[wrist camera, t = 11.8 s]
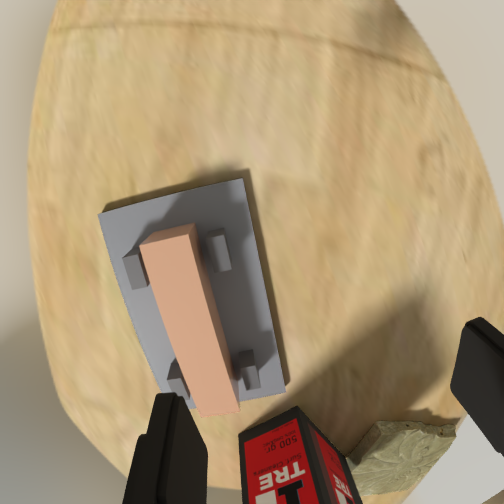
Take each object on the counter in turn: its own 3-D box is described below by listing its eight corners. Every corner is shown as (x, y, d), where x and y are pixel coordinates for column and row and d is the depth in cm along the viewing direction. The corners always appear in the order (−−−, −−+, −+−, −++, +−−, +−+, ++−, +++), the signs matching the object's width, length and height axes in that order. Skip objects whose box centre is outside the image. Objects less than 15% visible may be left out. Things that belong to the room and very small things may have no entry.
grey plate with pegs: (101, 212, 28) (84, 220, 25) (242, 177, 29) (244, 179, 25) (171, 405, 35) (167, 428, 31) (284, 387, 35) (290, 409, 31)
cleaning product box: (238, 434, 37) (247, 567, 18) (297, 405, 36) (335, 543, 17) (296, 481, 41) (319, 581, 22) (345, 458, 41) (383, 559, 21)
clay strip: (153, 232, 28) (139, 245, 24) (195, 222, 28) (188, 234, 24) (203, 387, 33) (200, 417, 28) (238, 381, 33) (240, 411, 29)
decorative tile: (403, 480, 46) (409, 492, 43) (319, 485, 43) (323, 500, 40) (458, 416, 42) (467, 428, 38) (375, 415, 39) (384, 431, 36)
